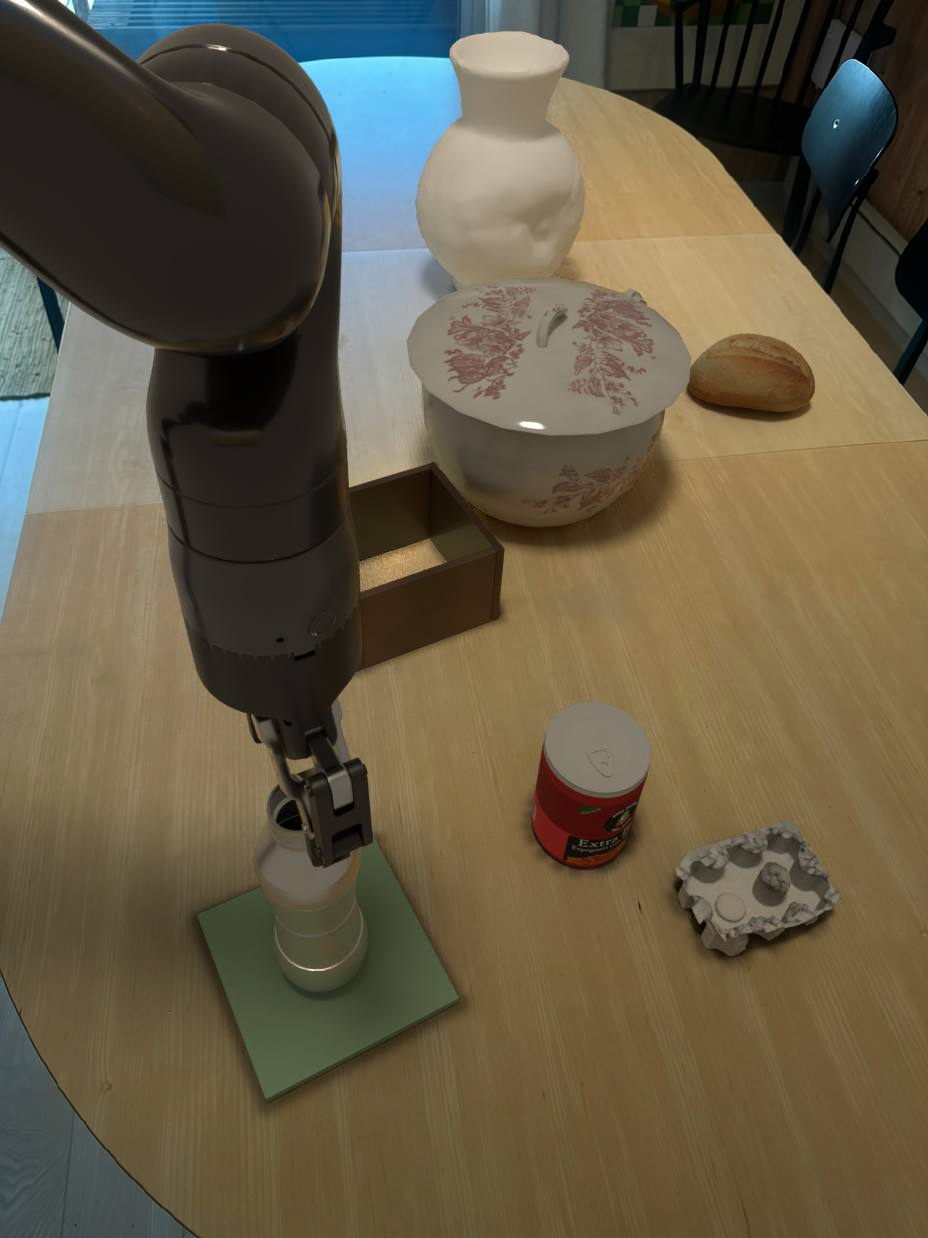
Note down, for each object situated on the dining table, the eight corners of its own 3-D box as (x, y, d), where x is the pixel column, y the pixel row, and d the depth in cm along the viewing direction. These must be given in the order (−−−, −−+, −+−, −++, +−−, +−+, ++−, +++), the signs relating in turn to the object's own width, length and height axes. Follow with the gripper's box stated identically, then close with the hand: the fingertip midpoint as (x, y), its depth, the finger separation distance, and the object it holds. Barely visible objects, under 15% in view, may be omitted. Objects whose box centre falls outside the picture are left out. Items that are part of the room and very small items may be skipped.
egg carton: (709, 968, 69) (723, 943, 66) (662, 876, 74) (672, 849, 71) (836, 923, 72) (854, 898, 69) (782, 837, 77) (797, 810, 74)
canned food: (569, 888, 73) (589, 811, 65) (510, 808, 78) (521, 727, 69) (647, 841, 76) (676, 762, 68) (586, 767, 80) (606, 685, 72)
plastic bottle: (364, 904, 71) (351, 745, 56) (375, 996, 66) (364, 849, 52) (275, 917, 70) (238, 759, 55) (279, 1011, 65) (240, 866, 51)
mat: (266, 1103, 62) (265, 1099, 62) (198, 919, 70) (196, 914, 70) (459, 1002, 67) (459, 998, 66) (374, 841, 75) (374, 836, 75)
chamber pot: (432, 585, 94) (436, 407, 79) (388, 418, 112) (384, 247, 97) (702, 552, 99) (755, 377, 84) (618, 397, 117) (649, 230, 102)
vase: (389, 287, 132) (384, 42, 110) (500, 240, 143) (517, 9, 121) (482, 345, 124) (498, 91, 101) (594, 291, 134) (631, 50, 112)
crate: (356, 671, 86) (351, 602, 80) (299, 574, 94) (291, 504, 88) (498, 618, 92) (505, 548, 85) (432, 530, 99) (434, 461, 93)
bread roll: (811, 432, 113) (833, 374, 108) (683, 416, 115) (697, 357, 109) (805, 386, 120) (825, 329, 114) (684, 371, 121) (698, 313, 115)
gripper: (134, 507, 43) (191, 722, 55) (242, 741, 35) (282, 934, 47) (291, 462, 46) (313, 677, 58) (426, 671, 38) (420, 871, 50)
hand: (299, 792), depth 53 cm, fingers open, 8 cm apart
